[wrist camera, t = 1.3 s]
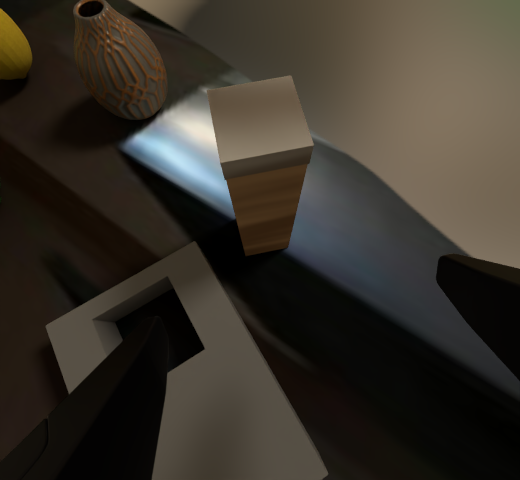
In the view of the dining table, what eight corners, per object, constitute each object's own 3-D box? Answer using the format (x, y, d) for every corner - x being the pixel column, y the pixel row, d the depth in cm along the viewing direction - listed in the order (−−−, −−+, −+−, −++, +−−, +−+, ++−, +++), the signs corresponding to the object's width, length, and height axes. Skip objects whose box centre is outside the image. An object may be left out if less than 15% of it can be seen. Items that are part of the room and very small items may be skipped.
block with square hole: (319, 453, 18) (328, 474, 16) (166, 568, 17) (146, 615, 14) (203, 252, 23) (194, 240, 20) (74, 327, 21) (45, 325, 19)
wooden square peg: (288, 247, 23) (313, 145, 11) (245, 256, 23) (220, 163, 11) (278, 208, 24) (291, 75, 12) (237, 216, 24) (206, 90, 12)
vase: (145, 143, 27) (90, 56, 19) (92, 112, 28) (19, 18, 20) (189, 95, 29) (158, -5, 20) (138, 68, 30) (88, -36, 22)
